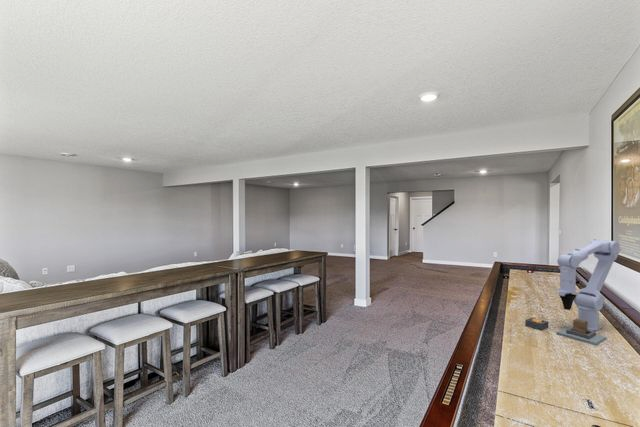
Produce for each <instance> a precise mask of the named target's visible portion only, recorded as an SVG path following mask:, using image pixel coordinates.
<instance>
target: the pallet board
mask: <svg viewBox="0 0 640 427" xmlns="http://www.w3.org/2000/svg"><path fill="white" fill-rule="evenodd" d="M555 333H556V335H557V336H561V337H564V338H568V339H571V340H575V341H580V342H583V343H587V344H590V345H594V346H598V345H599V344H601V343H602V342H605V341H606V340H607V336H606V335H602V334H597V332H596V331H593V330H589V329H588V334H583V333H579V332H576V331H573V326H571V327H570V326H566V327H564V328H562V329H560V330H557V331H556V332H555Z"/></svg>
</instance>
